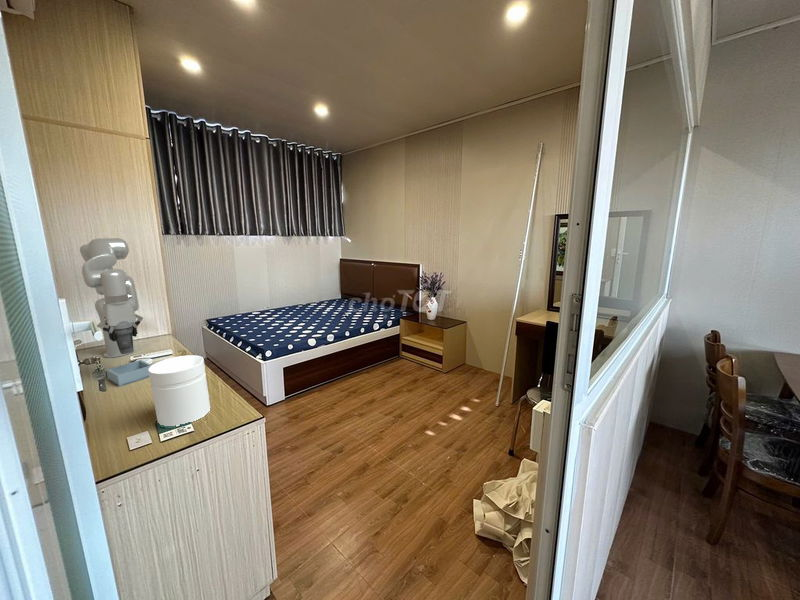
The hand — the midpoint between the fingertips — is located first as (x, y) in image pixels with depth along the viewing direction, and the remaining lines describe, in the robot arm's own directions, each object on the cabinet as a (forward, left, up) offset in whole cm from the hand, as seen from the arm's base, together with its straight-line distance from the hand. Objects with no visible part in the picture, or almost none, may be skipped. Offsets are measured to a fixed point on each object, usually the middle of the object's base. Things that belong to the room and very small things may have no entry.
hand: (124, 338), depth 142 cm
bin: (0, 0, -19) cm, 19 cm away
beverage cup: (0, 0, -7) cm, 7 cm away
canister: (+55, -3, -19) cm, 58 cm away
